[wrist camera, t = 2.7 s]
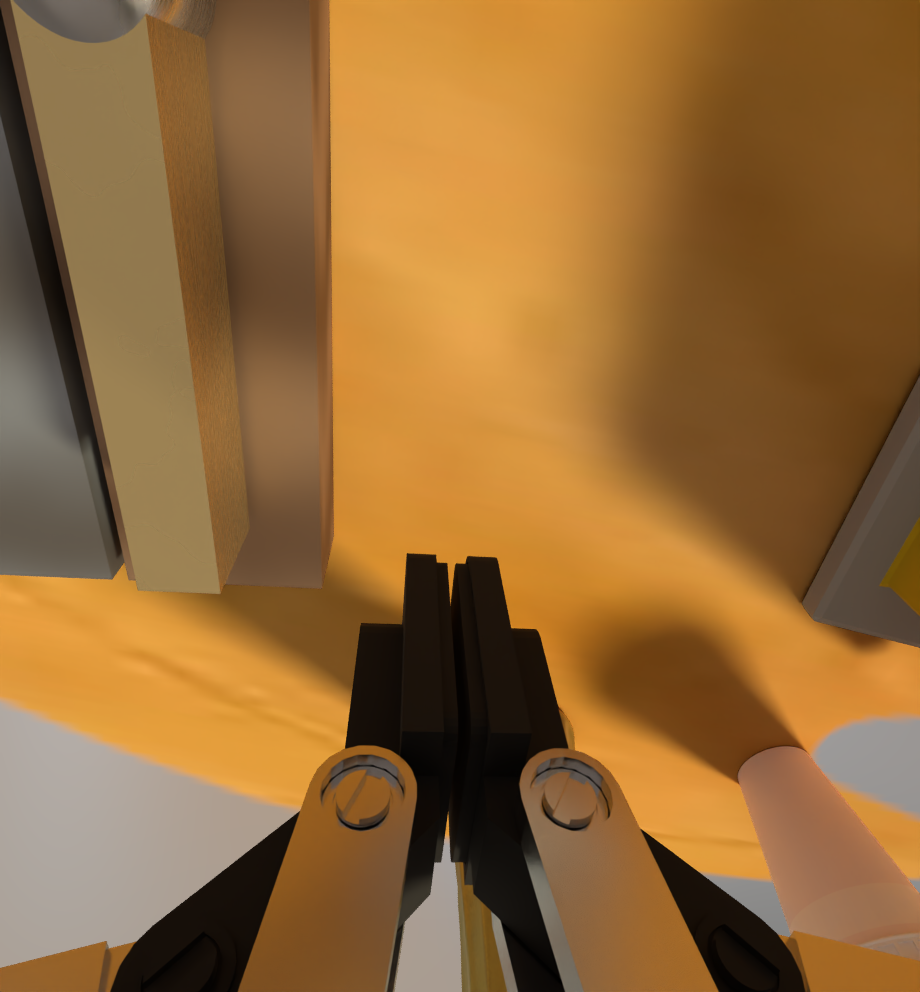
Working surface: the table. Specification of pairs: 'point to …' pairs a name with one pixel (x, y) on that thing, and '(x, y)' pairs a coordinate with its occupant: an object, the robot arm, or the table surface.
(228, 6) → the door mockup
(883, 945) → the smoothie
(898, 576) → the toy computer monitor
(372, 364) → the table surface
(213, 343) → the latch bar
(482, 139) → the table surface
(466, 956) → the vase
